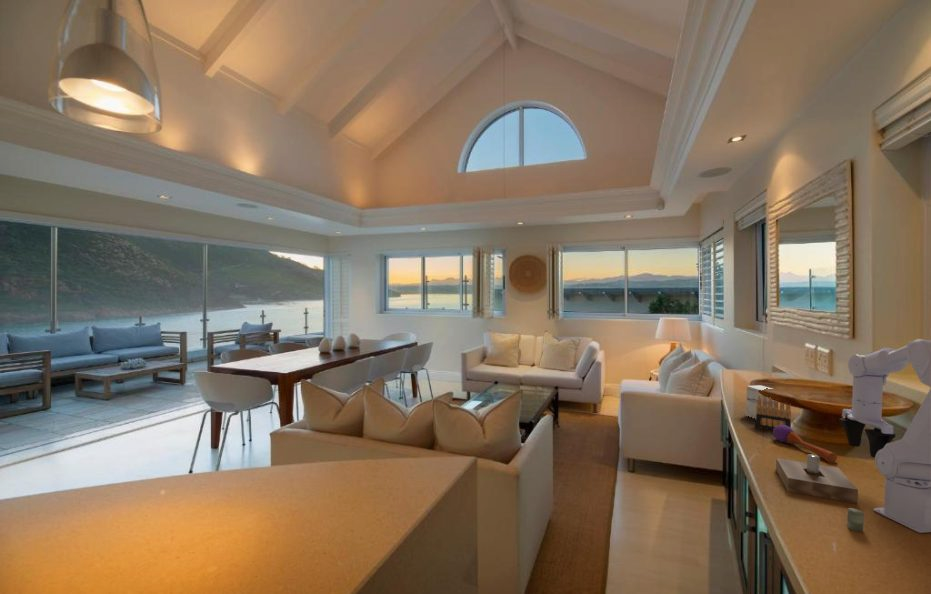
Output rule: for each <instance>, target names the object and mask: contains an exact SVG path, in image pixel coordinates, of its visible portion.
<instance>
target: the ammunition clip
mask: <svg viewBox="0 0 931 594" xmlns="http://www.w3.org/2000/svg"><path fill="white" fill-rule="evenodd" d="M761 411H762V413H761ZM761 418H762V420H761ZM791 419H792V410H791V404H790V405H787V403H786V405H785V402H784V403H781V402H780V405H779V400H778V401H775V402H774V409H773V406H772V399H771V397H770V398H769V403H768V411H767V400H766V397H764V399H763V406H762V407H761V398H760V396H758V400H757V406H756V419H755V425H754V426H756V427H755V428H758V427H762V428H761V429H764V428H768V429H767V430H770V429H774V428H775V427H776V426H778V425H786V426H788V427H791Z"/></svg>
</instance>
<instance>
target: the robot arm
mask: <svg viewBox="0 0 931 594" xmlns="http://www.w3.org/2000/svg"><path fill="white" fill-rule="evenodd" d="M907 364H908V365H909V364H911V366H912V368H913V370H914V372H915V374H916V376H917V378H918V379H919V382H920V383H921V384H922V385H925V386H927V387H929V391H928V392H927V395H926V396H925V397H924V399H923V401H922V403H921V405H920V406H919V408H918V410H917V412H916V414H915V415H914V417H913V419H912V421H911V422H910V425H908V428H907V430H906V431H905V432H904V435H903V436H902V438H901V439H898V440H895V441H893V439H895V438H896V433H895V432H894V425H892V424H889V423H887V422H886V421H885V420H884V419H882V413H883V394H884V393H883V389H884V387H883V386H885V385H886V383H887V378H888V377H889V375H890V374H892V373H896V372H899V371H903V370H904V369H905V368H906V366H907ZM847 368H848V370H849V373H850V374H851V376H852V396H851V398H852V400H851V408H850V409H848V408H843V409H842V412H841V413H842V414H841V415H842V417H843V418H842V417H841V418H839V420H838V421H839V422H840V424H841V425H842V427H843V430H844V431H845V435H846V438H847V442H848V446H850V447H860V446H861V442H862V437H863V432H864V431H865V434H866V436H867V439H868V443H869V454H870V457H871V458H874V462H875V466H876V468H877V470H878V472H879V473H880V474H881V476H883V477H884V481H885V482H884V505H883V507H874V508H872V509H873V511H874V512H876V513H878V514H880V515H882V516H884V517H886V518H887V519H891V520H892V521H894V522H896V523H898V524H901V525H903V526H905V527H907V528H908V529H911V530H912V531H915V532H916V533H920V534H923V533H924V534H925V533H931V339H928V340H927V339H922V338H918V339H917V338H916V339H915V340H909V341H908V342H907V344H906V345H904V346H902V347H899V348H897V349H895V348H891V347H890V346H889V347H888V346H882V347H879V350H877V351H869V352H867V354H865V355H862V354H860V355H859V354H855V353H854V354H852V355H851V356H850V357H849V359H848V363H847ZM866 426H869V427H870V428H871V429H869V428H865V427H866Z"/></svg>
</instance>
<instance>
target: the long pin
mask: <svg viewBox="0 0 931 594" xmlns="http://www.w3.org/2000/svg"><path fill="white" fill-rule="evenodd" d="M820 460H821V457H820V456H818V455H817V454H813V453H811V454H810V453H807V454H806V463H807V474H810V475H816V476H819V465H820V462H821V461H820Z"/></svg>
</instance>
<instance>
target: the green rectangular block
mask: <svg viewBox="0 0 931 594" xmlns="http://www.w3.org/2000/svg"><path fill="white" fill-rule="evenodd" d="M864 515H865V513H864V512H863V511H862V510H860V509H857V508H853V507H849V508H847V518H846V519H847V521H846V523H847V524H846V527H848V528H847V529H849V530H850V529H851V530H850V531H852V530H854V531H853V532H855V531H857V532H856V533H863V532H864V520H865V519H864Z"/></svg>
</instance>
